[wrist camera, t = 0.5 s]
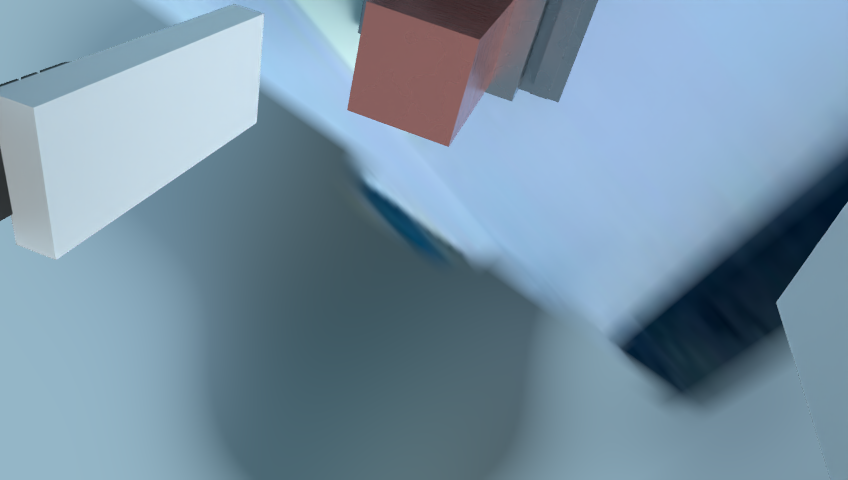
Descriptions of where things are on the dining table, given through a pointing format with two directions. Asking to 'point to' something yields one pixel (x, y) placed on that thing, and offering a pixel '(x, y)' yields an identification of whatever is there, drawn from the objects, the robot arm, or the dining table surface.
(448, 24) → the block
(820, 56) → the dining table surface
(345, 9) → the dining table surface
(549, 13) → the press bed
